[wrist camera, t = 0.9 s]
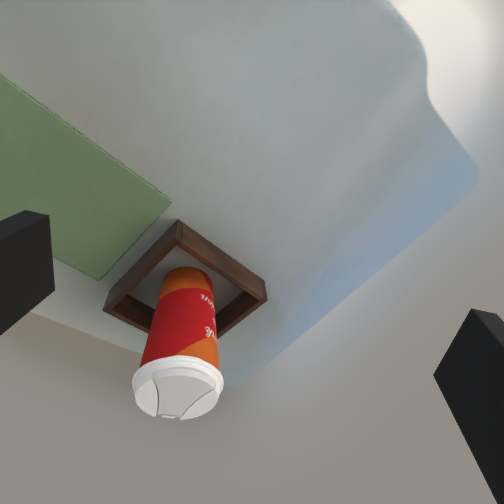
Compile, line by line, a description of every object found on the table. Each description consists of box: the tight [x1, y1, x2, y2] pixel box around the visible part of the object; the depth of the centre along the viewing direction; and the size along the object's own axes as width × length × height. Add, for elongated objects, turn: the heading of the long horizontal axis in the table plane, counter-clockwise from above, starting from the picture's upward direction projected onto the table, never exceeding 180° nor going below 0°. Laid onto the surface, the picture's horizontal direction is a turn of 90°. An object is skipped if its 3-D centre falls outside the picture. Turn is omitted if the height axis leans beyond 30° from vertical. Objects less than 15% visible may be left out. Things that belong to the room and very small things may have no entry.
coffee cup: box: [132, 267, 224, 420], centre depth 36 cm, size 8×8×15 cm
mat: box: [0, 75, 172, 281], centre depth 33 cm, size 20×14×1 cm
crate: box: [103, 220, 268, 339], centre depth 41 cm, size 13×13×4 cm
